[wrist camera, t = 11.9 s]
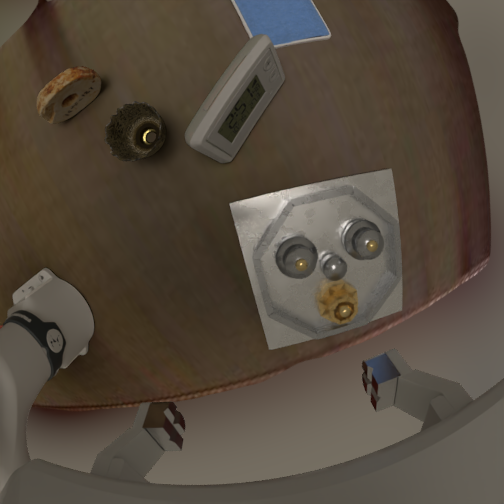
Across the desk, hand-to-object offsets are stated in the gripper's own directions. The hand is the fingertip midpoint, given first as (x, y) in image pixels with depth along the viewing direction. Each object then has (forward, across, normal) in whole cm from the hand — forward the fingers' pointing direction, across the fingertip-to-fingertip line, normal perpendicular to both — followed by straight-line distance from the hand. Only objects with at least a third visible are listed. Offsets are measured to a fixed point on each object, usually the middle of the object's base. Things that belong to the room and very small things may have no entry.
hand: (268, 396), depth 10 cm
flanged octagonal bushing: (+30, -11, +14) cm, 35 cm away
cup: (+31, +10, -17) cm, 37 cm away
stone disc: (+31, +20, -28) cm, 47 cm away
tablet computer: (+32, -13, -36) cm, 50 cm away
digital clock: (+31, -3, -17) cm, 36 cm away
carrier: (+31, -11, +8) cm, 34 cm away
